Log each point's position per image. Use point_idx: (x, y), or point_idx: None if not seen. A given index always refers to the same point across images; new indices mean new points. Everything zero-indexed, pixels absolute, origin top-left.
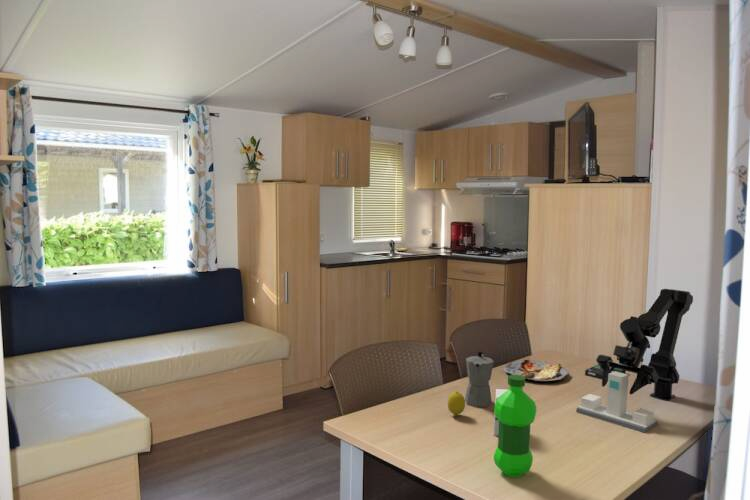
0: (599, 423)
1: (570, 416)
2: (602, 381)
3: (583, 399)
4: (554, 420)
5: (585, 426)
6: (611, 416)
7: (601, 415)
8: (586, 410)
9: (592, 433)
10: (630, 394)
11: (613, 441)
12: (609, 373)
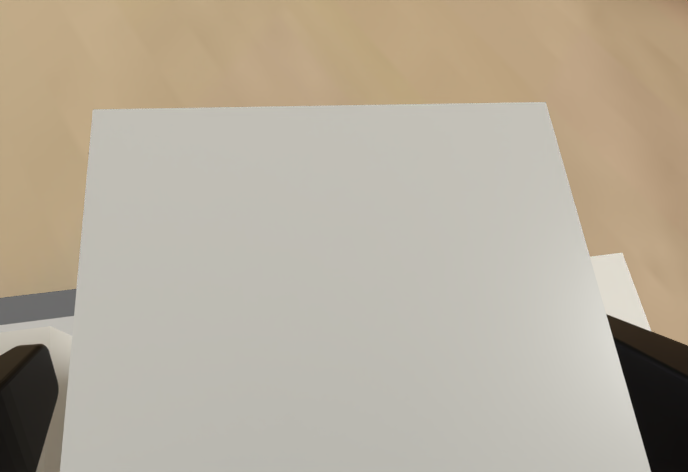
0: None
1: None
2: (625, 326)
3: (593, 257)
4: (494, 16)
5: (330, 75)
6: None
7: None
8: None
9: (235, 20)
10: (51, 384)
11: (80, 13)
12: (557, 155)
